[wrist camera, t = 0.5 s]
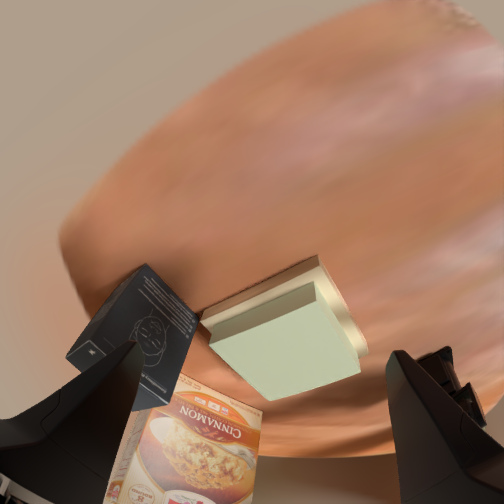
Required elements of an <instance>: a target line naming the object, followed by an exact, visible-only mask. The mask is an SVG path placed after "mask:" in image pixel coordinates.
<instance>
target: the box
mask: <svg viewBox="0 0 504 504" xmlns="http://www.w3.org/2000/svg"><path fill="white" fill-rule="evenodd" d="M198 322H199V317H198V316H197V315H196V314H195V313H194V312H193V311H192V310H191V309H190V308H189V307H188V306H187V305H186V304H185V303H184V302H183V301H182V300H181V299H180V298H179V297H178V296H177V295H176V294H175V293H174V292H173V291H172V290H171V289H170V288H169V287H168V286H167V285H166V284H165V283H164V282H163V281H162V280H161V279H160V278H159V277H158V276H157V275H156V273H155V272H154V271H153V270H152V269H151V268H150V267H149V266H148V265H147V264H145V265H143V266H142V267H141V268H140V269H138V270H137V271H136V272H135V273H133V274H132V275H131V276H130V277H129V278H127V279H126V280H125V281H124V282H123V283H121V284H120V285H119V286H118V287H117V288H116V289H115V290H114V291H113V292H112V294H111V295H110V296H109V297H108V299H107V300H106V301H105V302H104V304H103V305H102V306H101V308H100V309H99V310H98V312H97V313H96V314H95V316H94V317H93V318H92V320H91V321H90V322H89V324H88V325H87V326H86V328H85V329H84V331H83V332H82V333H81V335H80V336H79V337H78V339H77V341H76V342H75V344H74V345H73V346H72V348H71V349H70V351H69V352H68V353H67V355H66V359H67V360H68V361H69V362H70V363H71V364H73V365H74V366H75V367H76V368H77V369H78V370H79V371H80V372H84V371H85V370H86V369H88V368H89V367H91V366H92V365H93V364H95V363H96V362H98V361H99V360H100V359H102V358H103V357H105V356H106V355H107V354H109V353H110V352H111V351H113V350H114V349H116V348H117V347H118V346H120V345H121V344H123V343H124V342H125V341H127V340H134V341H138V342H139V344H140V346H141V348H142V351H143V353H144V356H145V363H144V367H143V371H142V375H141V379H140V383H139V387H138V391H137V395H136V398H135V401H134V404H133V407H132V410H131V411H140V410H145V409H150V408H155V407H160V406H166V405H168V404H169V403H170V401H171V397H172V395H173V392H174V389H175V386H176V383H177V380H178V378H179V375H180V372H181V369H182V366H183V364H184V361H185V358H186V355H187V352H188V349H189V347H190V344H191V341H192V338H193V336H194V333H195V330H196V327H197V325H198Z"/></svg>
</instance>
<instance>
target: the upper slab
mask: <svg viewBox="0 0 504 504" xmlns="http://www.w3.org/2000/svg"><path fill="white" fill-rule="evenodd" d="M209 346H210V347H211V348H212V349H213V350H214V351H215V352H216V353H217V354H218V355H219V356H220V357H221V358H222V359H223V360H224V361H225V362H226V363H227V364H229V365H230V366H231V367H232V368H233V369H234V370H235V371H236V372H237V373H238V374H239V375H240V376H241V377H242V378H243V379H245V380H246V381H247V382H248V383H249V384H250V385H251V386H252V387H253V388H255V389H256V390H257V391H258V392H259V393H260V394H261V395H262V396H264V397H265V398H266V399H267V400H268V401H273V400H276V399H280V398H284V397H288V396H291V395H295V394H298V393H302V392H305V391H308V390H311V389H315V388H318V387H321V386H324V385H327V384H330V383H333V382H336V381H338V380H341V379H344V378H347V377H349V376H352V375H355V374H357V373H360V372H361V370H360V365H359V360H358V355H357V352H356V350H355V348H354V347H353V345H352V343H351V342H350V340H349V338H348V337H347V335H346V333H345V331H344V330H343V328H342V326H341V325H340V323H339V321H338V320H337V318H336V316H335V315H334V313H333V311H332V310H331V308H330V307H329V305H328V303H327V302H326V300H325V298H324V297H323V295H322V293H321V292H320V290H319V289H318V287H317V285H316V284H315V282H311V283H309V284H307V285H305V286H303V287H301V288H299V289H297V290H295V291H292V292H290V293H288V294H286V295H284V296H282V297H279V298H277V299H275V300H273V301H270V302H268V303H266V304H264V305H262V306H259V307H257V308H255V309H252V310H250V311H248V312H246V313H243V314H241V315H239V316H236V317H234V318H232V319H229V320H227V321H225V322H222V323H220V324H217V325H215V326H214V329H213V332H212V335H211V339H210V342H209Z"/></svg>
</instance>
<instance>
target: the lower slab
mask: <svg viewBox="0 0 504 504" xmlns="http://www.w3.org/2000/svg"><path fill="white" fill-rule="evenodd" d="M311 282H315V284H316V285H317V287H318V289H319V290H320V292H321V293H322V295H323V297H324V298H325V300H326V302H327V303H328V305H329V307H330V308H331V310H332V311H333V313H334V315H335V316H336V318H337V320H338V321H339V323H340V325H341V326H342V328H343V330H344V331H345V333H346V335H347V337H348V338H349V340H350V342H351V343H352V345H353V347H354V348H355V350H356V352H357V355H358V359H359V358H361V357H364V356H366V355H368V354H369V350H368V346H367V342H366V340H365V338H364V336H363V334H362V332H361V330H360V329H359V327H358V325H357V323H356V321H355V319H354V317H353V316H352V314H351V312H350V310H349V308H348V306H347V305H346V303H345V301H344V299H343V297H342V296H341V294H340V292H339V290H338V289H337V287H336V285H335V283H334V282H333V280H332V278H331V276H330V275H329V273H328V271H327V270H326V268H325V266H324V264H323V263H322V261H321V259H320V258H319V256H318V254H317V255H315V256H314V257H312V258H310V259H308V260H306V261H304V262H302V263H300V264H298V265H296V266H294V267H292V268H290V269H288V270H286V271H284V272H282V273H280V274H278V275H276V276H274V277H272V278H270V279H268V280H266V281H264V282H262V283H260V284H258V285H256V286H254V287H251V288H249V289H247V290H245V291H243V292H241V293H239V294H237V295H235V296H233V297H231V298H229V299H227V300H224V301H222V302H220V303H218V304H216V305H214V306H212V307H210V308H208V309H205V310H204V313H203V315H202V318H201V320H200V322H201V323H202V324H203V325H204V326H205V327H206V328H207V330H208V331H209V332H210V333H211V334H212V332H213V329H214V326H215V325H217V324H220V323H222V322H225V321H227V320H229V319H232V318H234V317H236V316H239V315H241V314H243V313H246V312H248V311H250V310H252V309H255V308H257V307H259V306H262V305H264V304H266V303H268V302H270V301H273V300H275V299H277V298H279V297H282V296H284V295H286V294H288V293H290V292H292V291H295V290H297V289H299V288H301V287H303V286H305V285H307V284H309V283H311Z"/></svg>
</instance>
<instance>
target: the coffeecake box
mask: <svg viewBox="0 0 504 504" xmlns="http://www.w3.org/2000/svg"><path fill="white" fill-rule="evenodd" d="M262 413H263V411H260V410H258V409H255V408H253V407H250V406H248V405H246V404H243V403H241V402H239V401H237V400H234V399H232V398H230V397H228V396H225V395H223V394H221V393H219V392H217V391H215V390H213V389H211V388H209V387H207V386H205V385H203V384H201V383H199V382H197V381H195V380H193V379H191V378H189V377H188V376H186V375H184V374H182V373H180V375H179V378H178V380H177V383H176V386H175V389H174V392H173V395H172V397H171V401H170V403H169V404H168V405H166V406H160V407H155V408H150V409H145V410H140V411H139V414H138V416H137V418H136V421H135V423H134V426H133V428H132V431H131V433H130V436H129V438H128V440H127V443H126V446H125V448H124V451H123V453H122V456H121V458H120V461H119V463H118V466H117V469H116V471H115V474H114V477H113V479H112V482H111V484H110V487H109V490H108V493H107V495H106V501H109V502H111V503H113V504H251V503H252V495H253V487H254V480H255V472H256V465H257V456H258V448H259V439H260V431H261V421H262Z"/></svg>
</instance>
